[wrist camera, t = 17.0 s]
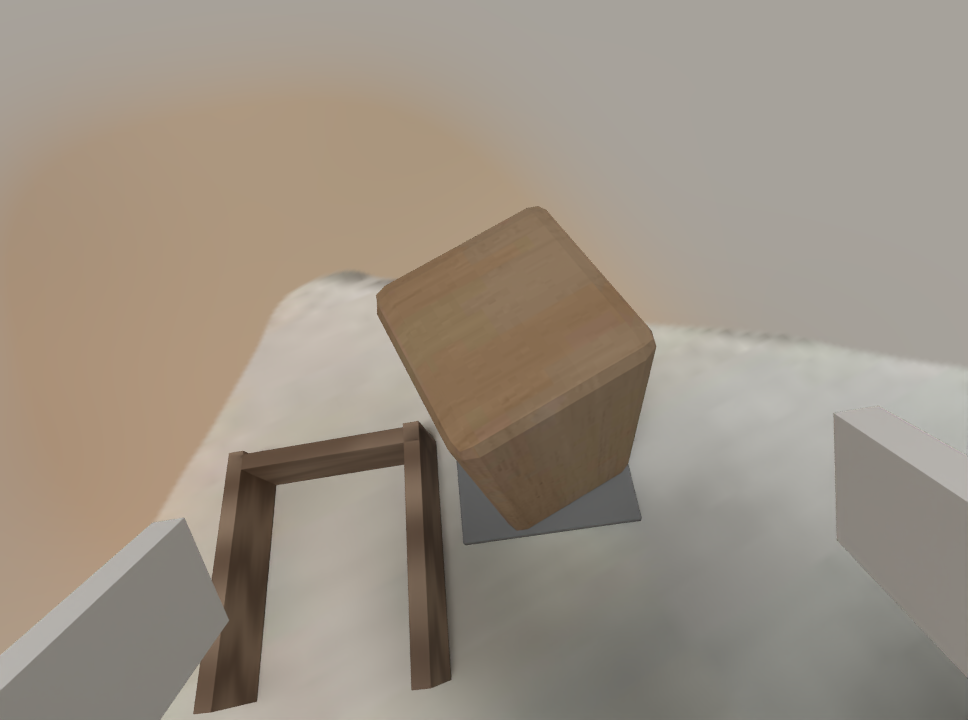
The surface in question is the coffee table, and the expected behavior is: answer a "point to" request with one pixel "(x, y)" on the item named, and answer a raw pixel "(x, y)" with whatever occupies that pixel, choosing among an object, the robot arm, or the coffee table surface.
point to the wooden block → (523, 363)
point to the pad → (590, 510)
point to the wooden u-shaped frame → (248, 541)
